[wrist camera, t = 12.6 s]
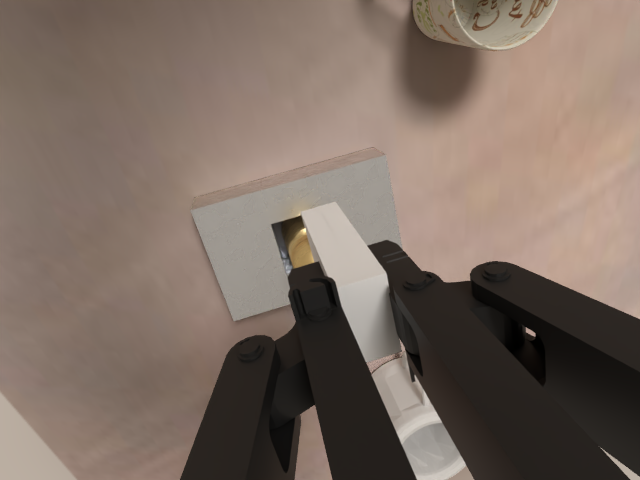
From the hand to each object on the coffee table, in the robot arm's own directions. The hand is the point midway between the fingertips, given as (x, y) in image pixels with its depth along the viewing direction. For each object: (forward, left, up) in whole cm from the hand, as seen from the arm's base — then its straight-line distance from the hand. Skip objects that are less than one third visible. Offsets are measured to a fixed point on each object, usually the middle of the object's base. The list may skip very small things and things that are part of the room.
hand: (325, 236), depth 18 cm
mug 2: (+33, +7, -25) cm, 42 cm away
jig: (+9, 0, -24) cm, 26 cm away
